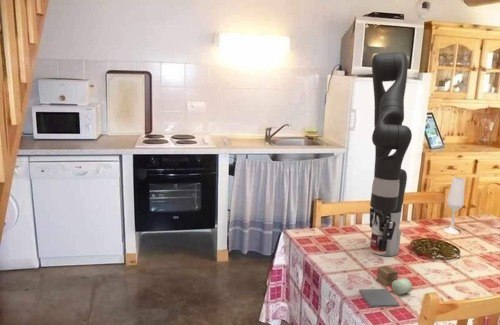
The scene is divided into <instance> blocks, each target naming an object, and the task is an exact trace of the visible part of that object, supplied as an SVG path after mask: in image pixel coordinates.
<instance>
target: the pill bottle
mask: <svg viewBox="0 0 500 325" xmlns="http://www.w3.org/2000/svg"><path fill="white" fill-rule="evenodd" d="M373 228H374V229H373V230H372V229H371V236H370V244H369V251H370V252H371V253H373V254H375V253H376V254H375V255H378V254H384V253H386V251H379V250H378V245H379V239H380V238H379V231H378V224H376V223H374V227H373ZM381 228H382V229H384V227H381ZM382 233H383V232H382ZM386 248H387V247H386Z"/></svg>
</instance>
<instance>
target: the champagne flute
mask: <svg viewBox="0 0 500 325" xmlns="http://www.w3.org/2000/svg"><path fill="white" fill-rule="evenodd" d="M465 187H466V179H465V178H464V177H459V176H458V177H457V176H456V177H455V176H454V177H452V180H451V184H450V187H449V191H448V196H447V201H446V204H447V206H448V207H449V208H450V209H451V210H452V212H451V219H450V220H451V221H450V226H448V227H446V228H443V229H442V232H445V233H447V234H452V235H458V234H460V231H458V229H456V228H455V227H454V223H455V217H456V213H457V212H456V211H458V210H460V209H462V207H464V205H465V204H464V203H465V191H466V190H465Z"/></svg>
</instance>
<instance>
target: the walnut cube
mask: <svg viewBox="0 0 500 325" xmlns="http://www.w3.org/2000/svg"><path fill="white" fill-rule="evenodd" d="M376 273H377V275H376V280H377V282H379V283H381V285H383V286H385V287H388V286H392V282H393V281H395V280H398V277H399V271H398V270H396V269H395V268H393V267H392V266H391V265H386V266H385V265H384V266H379V267H377V272H376Z"/></svg>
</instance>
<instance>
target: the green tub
mask: <svg viewBox="0 0 500 325" xmlns="http://www.w3.org/2000/svg"><path fill="white" fill-rule="evenodd" d="M391 288H392V290H393V292H394V293H395V294H396V295H397V296H398V295H399V296H400V295H404V294H407V293H410V292H411V291H412V290H413V284H412V282H411V281H410V279H409V278H407V277H404V278H399V279H398V278H397V280H395V281H393V282H392V285H391Z"/></svg>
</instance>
